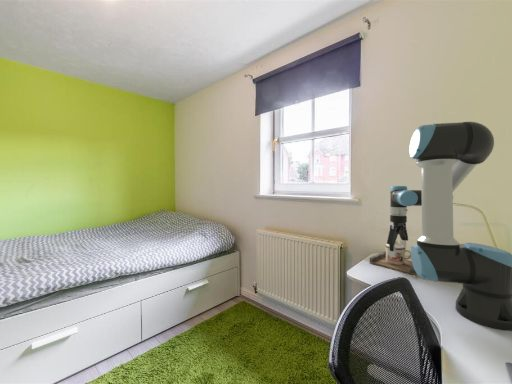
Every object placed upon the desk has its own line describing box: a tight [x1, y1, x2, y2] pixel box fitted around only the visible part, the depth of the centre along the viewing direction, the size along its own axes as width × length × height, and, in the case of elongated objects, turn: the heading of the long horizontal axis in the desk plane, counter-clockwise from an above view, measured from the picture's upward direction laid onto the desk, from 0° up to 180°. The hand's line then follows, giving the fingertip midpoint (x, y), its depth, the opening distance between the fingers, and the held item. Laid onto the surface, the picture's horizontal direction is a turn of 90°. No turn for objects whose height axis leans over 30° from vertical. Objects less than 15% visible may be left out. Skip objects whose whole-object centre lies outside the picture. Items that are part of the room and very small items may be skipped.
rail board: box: [369, 251, 417, 276], centre depth 125 cm, size 18×21×3 cm
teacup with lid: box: [385, 240, 411, 265], centre depth 125 cm, size 12×9×12 cm
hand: (397, 254), depth 125 cm, fingers open, 13 cm apart
